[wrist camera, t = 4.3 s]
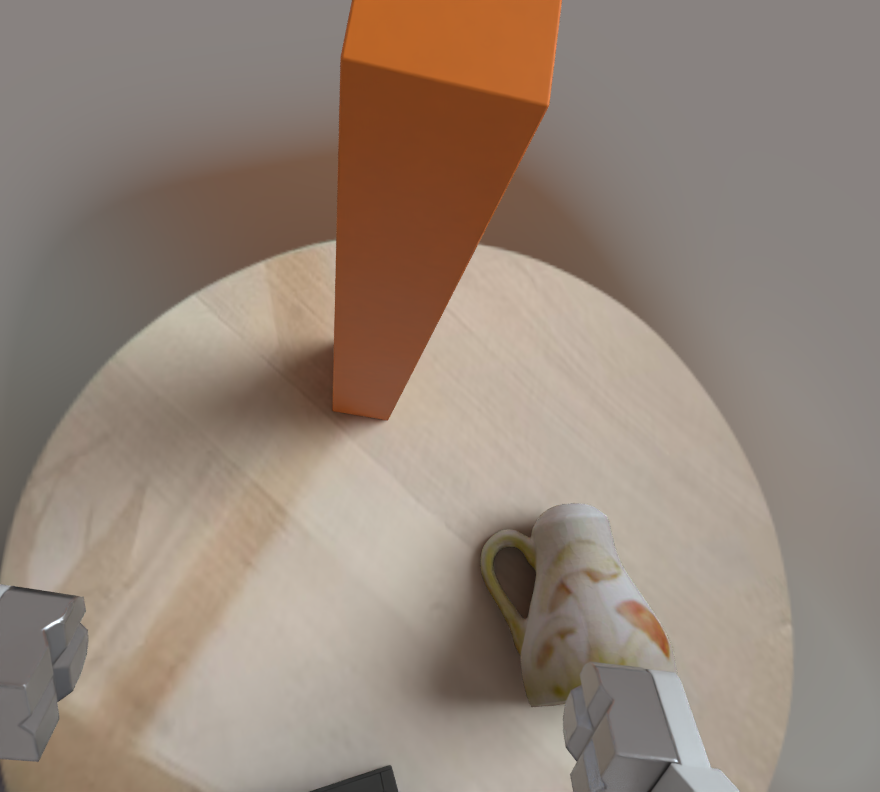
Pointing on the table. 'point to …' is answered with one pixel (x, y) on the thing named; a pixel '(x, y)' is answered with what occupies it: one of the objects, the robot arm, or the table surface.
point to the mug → (575, 604)
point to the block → (424, 168)
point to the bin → (366, 782)
